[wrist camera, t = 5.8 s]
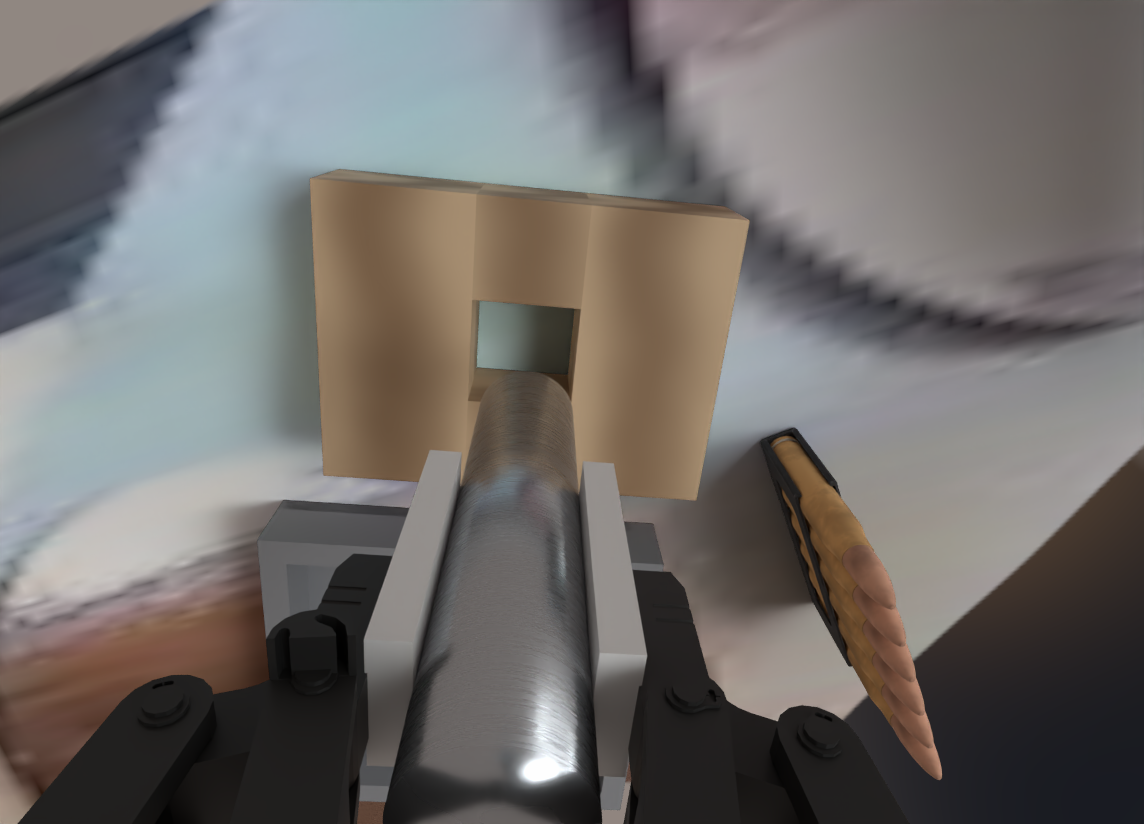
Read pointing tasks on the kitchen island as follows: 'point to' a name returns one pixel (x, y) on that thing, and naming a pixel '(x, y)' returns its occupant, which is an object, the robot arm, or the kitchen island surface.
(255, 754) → the robot arm
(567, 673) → the pin
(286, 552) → the tray
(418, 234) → the tan board with hole
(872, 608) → the ammunition clip
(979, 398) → the kitchen island surface
